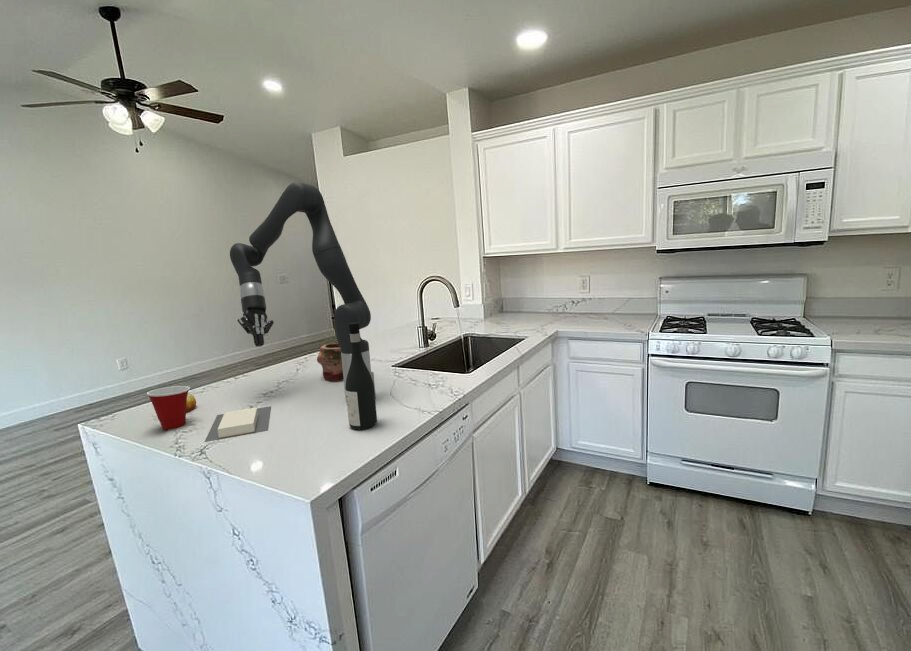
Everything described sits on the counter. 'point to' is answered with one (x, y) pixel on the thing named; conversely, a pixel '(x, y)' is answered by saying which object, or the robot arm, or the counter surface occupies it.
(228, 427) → the cream rectangular block
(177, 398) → the plastic cup
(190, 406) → the fruit
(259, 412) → the rubber mat
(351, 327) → the wine bottle
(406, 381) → the counter surface
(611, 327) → the counter surface
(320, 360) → the decorative planter
